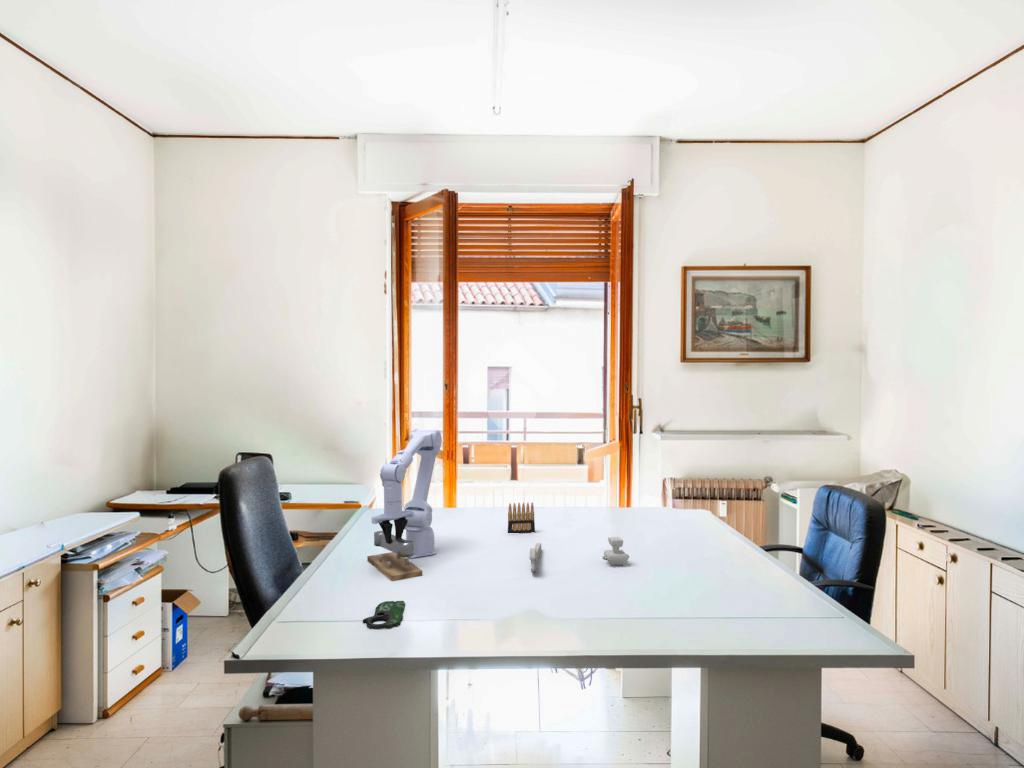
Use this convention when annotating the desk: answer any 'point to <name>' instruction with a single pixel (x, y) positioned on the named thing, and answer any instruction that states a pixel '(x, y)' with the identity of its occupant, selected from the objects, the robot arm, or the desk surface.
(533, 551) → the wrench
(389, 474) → the robot arm
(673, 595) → the desk surface
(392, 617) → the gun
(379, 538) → the grey elongated piece
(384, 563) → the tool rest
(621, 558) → the stamp
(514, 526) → the ammunition clip
